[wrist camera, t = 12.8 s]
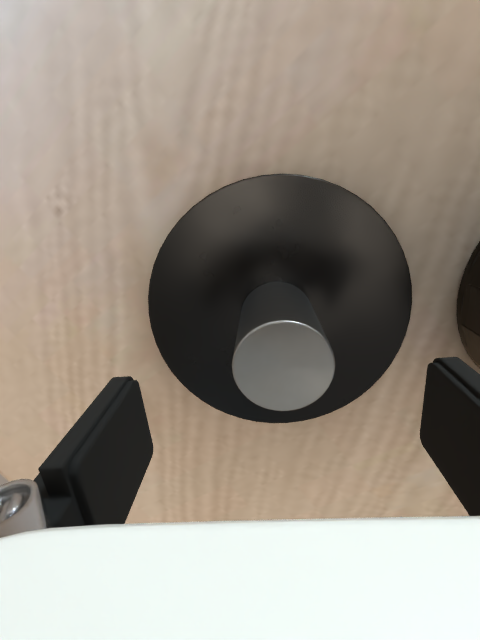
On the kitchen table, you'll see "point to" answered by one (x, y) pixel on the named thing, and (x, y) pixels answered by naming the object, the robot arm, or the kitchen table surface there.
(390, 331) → the lid
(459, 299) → the canister
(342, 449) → the kitchen table surface
